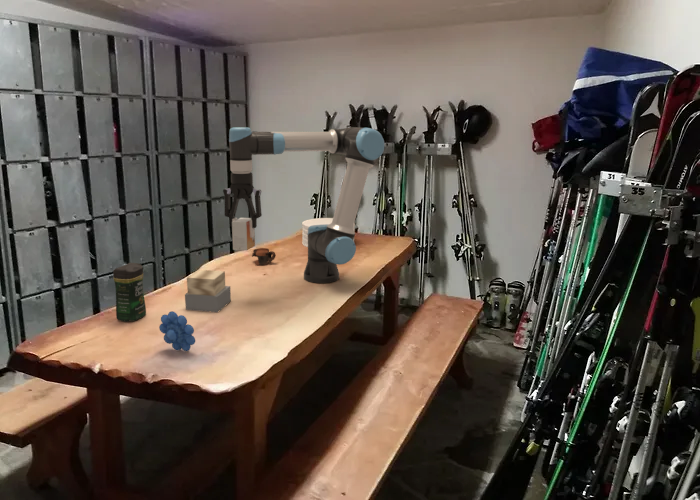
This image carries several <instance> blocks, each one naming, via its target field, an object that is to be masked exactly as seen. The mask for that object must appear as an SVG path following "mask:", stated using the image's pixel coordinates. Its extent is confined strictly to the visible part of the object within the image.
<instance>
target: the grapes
mask: <svg viewBox="0 0 700 500" xmlns="http://www.w3.org/2000/svg"><path fill="white" fill-rule="evenodd" d="M160 321H161V324H159V327H158V329H159V331H160V333H162V334H164V335H163V341H164V342H165V343H166V344H169V345H171V346H172V348H173V349H174V351H181V350H182V351H185V352H189V351H190V349H191V346H193V345H195V343H196V337H194V332H195V328H194V327H193V326H192V325H191V324H189V323H188V319H187V317H186V316H185V315H182V314H180V315H178V313H177V312H175V311H169V312H168V314H162V315H161V317H160Z"/></svg>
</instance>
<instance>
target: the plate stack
mask: <svg viewBox="0 0 700 500" xmlns="http://www.w3.org/2000/svg"><path fill="white" fill-rule="evenodd" d="M332 220H333V217H319V218H318V217H317V218H310V219H306V220H303V221H302V223H301V224H302V228H301V230H302V232H301V233H302V234H301V235H302V241H301V243H302V245H303V246H304V247H306V248H308V235H307V234H308V228H309V227H310V226H313V225H326V224H331V223H332ZM355 224H356V223H355V222H354V225H353V230H354V231H355V226H356V225H355ZM353 241H354V242H355V239H354V240H353Z"/></svg>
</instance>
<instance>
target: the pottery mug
mask: <svg viewBox="0 0 700 500" xmlns="http://www.w3.org/2000/svg"><path fill="white" fill-rule="evenodd" d="M251 257H252V258H253V257H255V258H257V260H254V264H255V266H264V265H265V266H268V264H270V263H271V262H272V261H274V260H275V258H276V253H275V251H272V250H271V251H270V250H269V248H267V247H259V248H255V249H253V252H252V254H251Z"/></svg>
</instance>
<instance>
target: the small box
mask: <svg viewBox="0 0 700 500" xmlns="http://www.w3.org/2000/svg"><path fill="white" fill-rule="evenodd" d="M250 219H251V217H239V218H237V220H235V221H232V227H231V232H232V234H231V235H232V236H231V237H232V250H233V251H249V250H250V249H252V248H254V247H255V246H256V238H255V236H256V235H255V228H254V237H252V238H250V221H249V220H250Z"/></svg>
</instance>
